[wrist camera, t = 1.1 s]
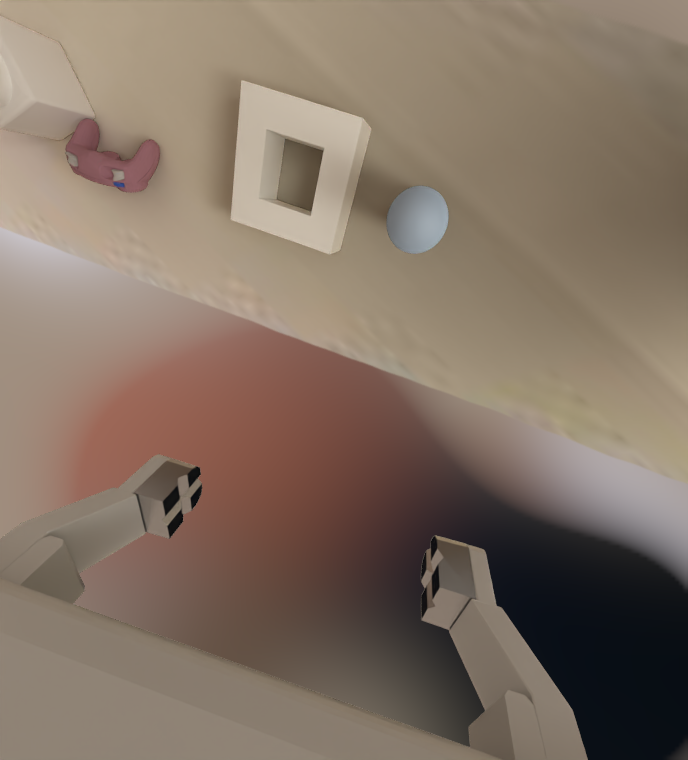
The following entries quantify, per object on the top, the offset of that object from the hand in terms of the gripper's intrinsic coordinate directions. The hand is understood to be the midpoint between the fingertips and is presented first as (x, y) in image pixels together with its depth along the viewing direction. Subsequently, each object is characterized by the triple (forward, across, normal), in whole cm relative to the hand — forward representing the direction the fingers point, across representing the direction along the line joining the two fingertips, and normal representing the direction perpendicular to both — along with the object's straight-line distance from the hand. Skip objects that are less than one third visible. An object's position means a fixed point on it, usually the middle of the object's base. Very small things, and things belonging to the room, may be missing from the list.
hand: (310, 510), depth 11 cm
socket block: (+33, +12, -11) cm, 37 cm away
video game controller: (+34, +36, -10) cm, 50 cm away
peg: (+33, -2, -9) cm, 34 cm away
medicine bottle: (+34, +44, -15) cm, 58 cm away
